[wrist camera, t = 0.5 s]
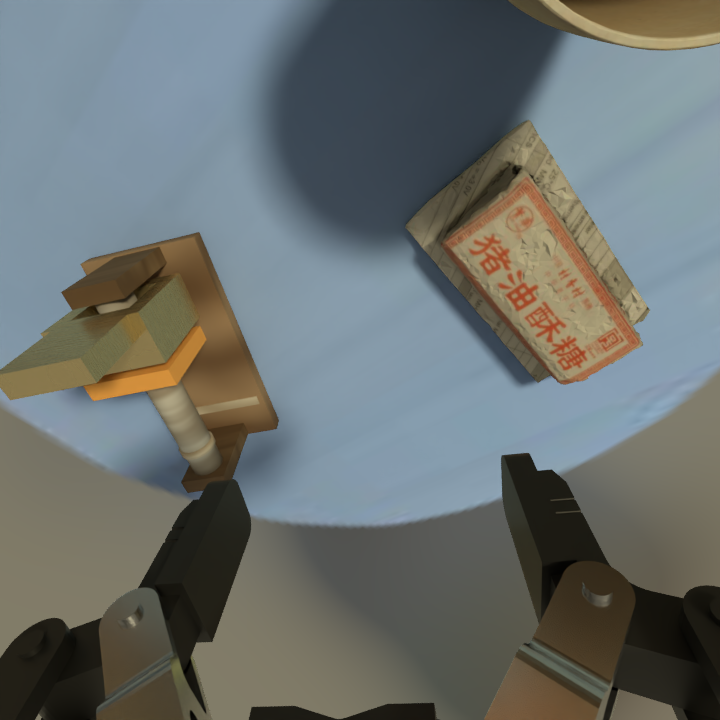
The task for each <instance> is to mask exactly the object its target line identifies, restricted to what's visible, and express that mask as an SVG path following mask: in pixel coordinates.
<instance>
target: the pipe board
mask: <svg viewBox="0 0 720 720" xmlns="http://www.w3.org/2000/svg"><path fill="white" fill-rule="evenodd" d="M81 266H82V268H83V270H84V271H85V273H86V275H87V276H85V277H84V278H82V279H81V280H79V281H78V282H76V283H75V284H73V285H72V286H70V287H68V288H67V289H65V290H64V291H62V292H61V293H62V294H63V296H64V297H65V299H66V301H67V302H68V304H69V305H70V307H71V309H72V310H75V309H79V308H84V307H88V306H92V305H95V307H96V308H97V310H98V312H99V313H100V314H103V313H107V312H112V311H116V310H121V309H125V308H129V307H130V306H131V305H133V304H134V303H135V302H136V301H137V300H138V299H137V298H136V296H135V294H134V292H133V291H134V290H135V289H136V288H138V287H139V286H140V285H141V284H142V283H143V282H145V281H146V280H150V279H154V278H159V277H163V276H167V275H172V274H176V273H180V275H181V277H182V279H183V281H184V284H185V286H186V288H187V290H188V292H189V294H190V296H191V299H192V301H193V303H194V305H195V307H196V309H197V311H198V313H199V316H200V318H199V319H198V320H197V322H196V323H195V324H194V326H193V327H196V326H200V327H201V329H202V331H203V333H204V335H205V337H206V339H207V340H206V341H205V343H204V344H203V346H202V347H201V349H200V350H199V352H198V353H197V355H196V356H195V358H194V360H193V361H192V363H191V364H190V366H189V367H188V369H187V370H186V372H185V373H184V375H183V376H182V378H181V379H180V381H179V382H178V384H177V385H174V386H169V387H164V388H158V389H153V390H148V391H146V392H147V394H148V395H149V397H150V399H151V400H152V402H153V404H154V405H155V407H156V409H157V410H158V412H159V414H160V415H161V417H162V419H163V420H164V422H165V424H166V426H167V427H168V429H169V431H170V432H171V434H172V436H173V437H174V439H175V441H176V442H177V444H178V446H179V451H180V453H181V455H182V456H183V458H184V459H186V460H187V461H188V462H189V464H190V465H189V467H188V470H187V472H186V474H185V476H184V478H183V480H182V482H181V483H182V485H183V486H184V488H185V489H186V491H187V493H190V492H196V491H203V490H204V489H205V488H206V486H207V484H208V483H209V482H211V481H220V480H231V479H232V477H233V475H234V472H235V469H236V466H237V463H238V460H239V458H240V455H241V452H242V449H243V446H244V444H245V441H246V438H247V435H248V434H250V433H256V432H261V431H267V430H273V429H277V425H278V422H279V420H278V417H277V415H276V413H275V410H274V408H273V406H272V403H271V401H270V398H269V396H268V394H267V391H266V389H265V387H264V384H263V382H262V380H261V377H260V375H259V372H258V370H257V368H256V365H255V363H254V361H253V358H252V356H251V354H250V351H249V349H248V346H247V344H246V342H245V339H244V337H243V335H242V332H241V330H240V327H239V325H238V323H237V320H236V318H235V316H234V313H233V311H232V309H231V306H230V304H229V301H228V299H227V297H226V294H225V292H224V290H223V287H222V285H221V283H220V280H219V278H218V275H217V273H216V271H215V268H214V266H213V264H212V261H211V259H210V257H209V254H208V252H207V249H206V247H205V245H204V242H203V240H202V238H201V235H200V233H199V232H198V233H194V234H190V235H186V236H182V237H178V238H174V239H170V240H165V241H161V242H157V243H153V244H149V245H145V246H141V247H136V248H132V249H128V250H124V251H120V252H116V253H112V254H108V255H103V256H99V257H95V258H91V259H88V260H87V261H85V262H83V263H82V264H81ZM157 365H158V364H157ZM152 366H153V365H152ZM147 367H148V366H147ZM142 368H143V367H142ZM137 369H138V368H137Z"/></svg>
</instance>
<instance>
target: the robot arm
mask: <svg viewBox="0 0 720 720" xmlns="http://www.w3.org/2000/svg"><path fill="white" fill-rule="evenodd" d="M501 470H502V497H503V505H504V510H505V515H506V518H507V522H508V525H509V528H510V532H511V535H512V538H513V541H514V545H515V548H516V551H517V554H518V557H519V561H520V564H521V567H522V570H523V574H524V577H525V580H526V583H527V587H528V590H529V593H530V596H531V600H532V603H533V606H534V609H535V613H536V616H537V619H538V622H539V626H538V628H537V630H536V632H535V634H534V636H533V638H532V640H531V642H530V643H529V644H527V643H524V644H523V645H522V646H521V647H520V649H519V650H518V652H517V653H516V656H515V657H514V659H513V662H512V664H511V666H510V668H509V670H508V672H507V674H506V676H505V678H504V680H503V682H502V684H501V686H500V688H499V690H498V692H497V694H496V696H495V699H494V700H493V702H492V705H491V706H490V709H489V711H488V713H487V715H486V717H485V719H484V720H611V719H612V715H613V712H614V709H615V705H616V702H617V698H618V695H619V692H620V689H621V690H624V691H627V692H630V693H633V694H637V695H640V696H643V697H646V698H650V699H653V700H656V701H660V702H663V703H666V704H669V705H672V707H673V710H674V712H675V714H676V716H677V719H678V720H720V587H715V586H698V587H695V588H693V589H691V590H689V591H688V592H687V593H686V595H685V596H684V598H679V597H675V596H670V595H666V594H661V593H657V592H652V591H649V590H645V589H642V588H640V587H637V586H635V585H633V584H631V583H630V582H628V580H627V579H626V578H625V577H624V576H623V575H622V574H621V573H619V572H618V571H617V570H615V569H614V568H612V567H611V566H610V565H609V563H608V562H607V560H606V558H605V556H604V554H603V552H602V550H601V548H600V547H599V545H598V543H597V541H596V539H595V537H594V535H593V533H592V531H591V529H590V527H589V525H588V523H587V521H586V519H585V517H584V516H583V514H582V513H581V510H580V508H579V506H578V504H577V502H576V500H574V496H573V494H572V492H571V490H570V488H569V486H568V485H567V483H566V481H564V480H563V479H562V478H561V477H560V476H559V475H557V474H556V473H555V472H554V471H553V470H542V471H537V469H536V467H535V464H534V462H533V460H532V458H531V456H530V454H529V453H522V454H511V455H502V457H501ZM250 532H251V518H250V514H249V511H248V509H247V506H246V504H245V501H244V498H243V496H242V493H241V490H240V488H239V485H238V483H237V481H236V480H234V479H231V480H220V481H211V482H209V483H208V484H207V486H206V488H205V489H204V491H203V493H202V495H201V497H200V499H199V500H193V501H192V502H191V503H190V504H189V505H188V506H187V507H186V508H185V509H184V510H183V511H182V512H181V513H180V515H179V516H178V518H177V520H176V522H175V524H174V525H173V527H172V531H170V532H169V534H168V536H167V538H166V539H165V543H163V545H162V546H161V548H160V550H159V552H158V554H157V555H156V557H155V559H154V561H153V563H152V564H151V566H150V568H149V570H148V572H147V573H146V575H145V577H144V579H143V580H142V582H141V584H140V586H139V587H138V589H135V590H132V591H130V592H128V593H126V594H124V595H123V596H121V597H120V598H118V599H117V600H116V601H115V602H114V603H113V604H112V605H111V606H110V607H109V608H108V609H107V611H106V612H105V614H104V615H103V617H102V618H100V619H97V620H95V621H92V622H89V623H86V624H84V625H81V626H78V627H75V628H72V629H69V628H68V627H67V625H66V624H65V623H64V621H63V620H61V619H58V618H51V619H46V620H43V621H41V622H38V623H36V624H35V625H33V626H31V627H29V628H28V629H27V630H25V631H24V632H23V633H21V634H20V635H19V636H18V637H17V638H16V639H15V640H14V641H13V642H12V643H11V644H10V645H9V647H8V648H7V649H6V651H5V652H4V654H3V655H2V656H1V658H0V720H35V719H36V717H37V715H38V713H39V714H40V716H41V717H42V718H41V720H212V717H211V714H210V710H209V708H208V704H207V701H206V697H205V694H204V691H203V687H202V684H201V681H200V677H199V674H198V671H197V667H196V664H195V661H194V659H193V656H192V652H193V649H194V647H195V644H196V642H212V641H213V638H214V635H215V633H216V630H217V627H218V624H219V621H220V619H221V616H222V613H223V610H224V607H225V604H226V601H227V599H228V596H229V593H230V590H231V587H232V585H233V582H234V579H235V576H236V573H237V570H238V568H239V565H240V562H241V559H242V556H243V553H244V550H245V548H246V545H247V542H248V539H249V536H250ZM249 720H439V719H437V717H436V711H435V705H434V703H412V704H386V705H383V706H380V707H377V708H374V709H371V710H368V711H365V712H362V713H359V714H356V715H353V716H350V717H347V718H344V719H334V718H331V717H328V716H325V715H321V714H318V713H315V712H312V711H309V710H306V709H302V708H299V707H296V706H278V707H275V706H274V707H252V708H251V713H250V717H249Z"/></svg>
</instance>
